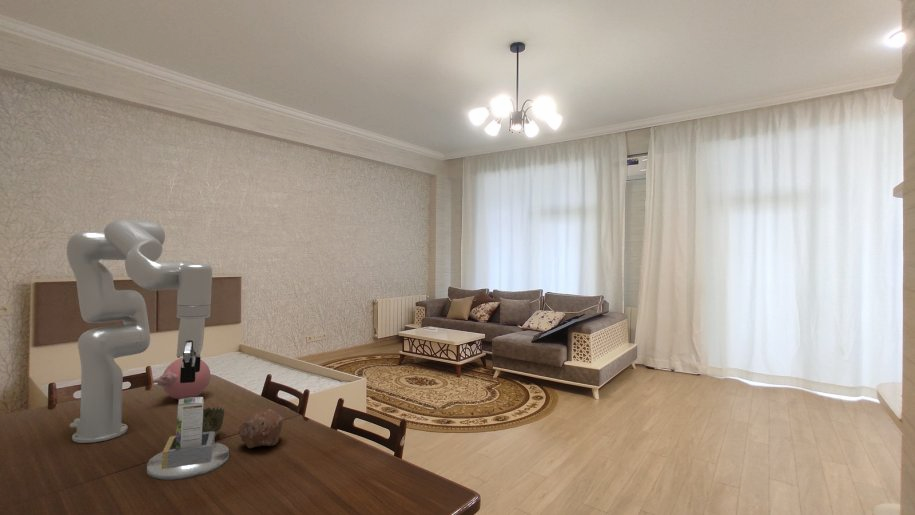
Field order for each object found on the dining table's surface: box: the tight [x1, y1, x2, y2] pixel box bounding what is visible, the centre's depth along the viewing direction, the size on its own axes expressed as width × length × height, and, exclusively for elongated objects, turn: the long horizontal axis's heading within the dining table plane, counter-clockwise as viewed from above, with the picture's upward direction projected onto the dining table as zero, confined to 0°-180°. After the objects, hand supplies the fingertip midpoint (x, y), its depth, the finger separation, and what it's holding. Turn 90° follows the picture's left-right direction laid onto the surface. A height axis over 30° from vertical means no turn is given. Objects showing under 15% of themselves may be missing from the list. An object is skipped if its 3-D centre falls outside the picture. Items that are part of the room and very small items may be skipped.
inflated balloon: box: [152, 357, 212, 401], centre depth 161 cm, size 15×20×15 cm
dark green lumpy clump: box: [202, 406, 226, 438], centre depth 129 cm, size 8×7×8 cm
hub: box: [146, 431, 230, 481], centre depth 114 cm, size 18×18×6 cm
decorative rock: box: [237, 408, 284, 449], centre depth 125 cm, size 13×11×10 cm
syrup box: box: [175, 396, 204, 449], centre depth 114 cm, size 6×6×14 cm
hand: (190, 377), depth 114 cm, fingers open, 9 cm apart
